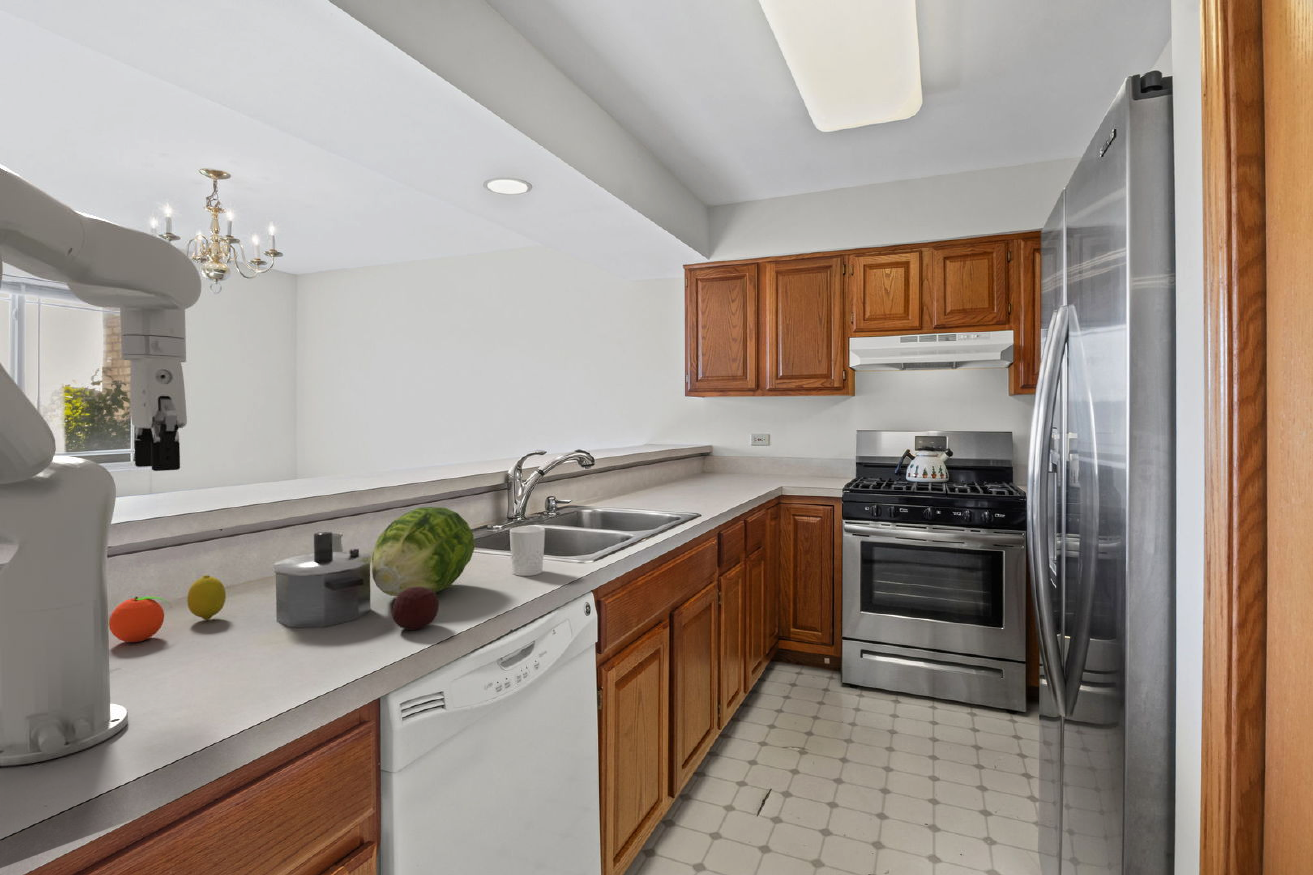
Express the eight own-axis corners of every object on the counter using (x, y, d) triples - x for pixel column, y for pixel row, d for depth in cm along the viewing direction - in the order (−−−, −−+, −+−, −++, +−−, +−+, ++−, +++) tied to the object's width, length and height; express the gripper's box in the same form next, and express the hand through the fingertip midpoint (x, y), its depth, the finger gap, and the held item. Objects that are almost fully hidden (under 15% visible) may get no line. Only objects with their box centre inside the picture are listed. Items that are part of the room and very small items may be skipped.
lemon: (206, 626, 112) (205, 579, 112) (179, 623, 113) (178, 577, 113) (233, 616, 118) (232, 572, 117) (207, 614, 119) (206, 570, 119)
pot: (388, 616, 118) (387, 566, 118) (305, 636, 107) (304, 581, 107) (340, 596, 131) (340, 551, 130) (262, 612, 120) (261, 563, 120)
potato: (447, 624, 114) (447, 583, 114) (417, 638, 107) (416, 595, 107) (413, 619, 117) (412, 579, 117) (381, 633, 110) (380, 591, 109)
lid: (386, 564, 119) (386, 532, 119) (293, 581, 108) (293, 545, 107) (348, 552, 130) (347, 523, 129) (260, 565, 118) (259, 533, 118)
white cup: (552, 571, 152) (551, 528, 152) (528, 578, 146) (528, 533, 145) (526, 567, 156) (526, 525, 156) (502, 573, 150) (502, 530, 149)
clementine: (170, 629, 111) (169, 587, 110) (175, 640, 106) (174, 596, 105) (108, 640, 105) (107, 596, 105) (110, 652, 100) (109, 605, 100)
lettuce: (339, 609, 123) (346, 524, 120) (406, 562, 146) (413, 489, 142) (426, 632, 121) (435, 546, 117) (480, 580, 144) (489, 507, 140)
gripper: (202, 349, 93) (205, 470, 94) (169, 355, 104) (171, 463, 105) (136, 345, 87) (139, 473, 88) (108, 352, 99) (111, 466, 99)
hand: (157, 468), depth 97 cm, fingers open, 9 cm apart
